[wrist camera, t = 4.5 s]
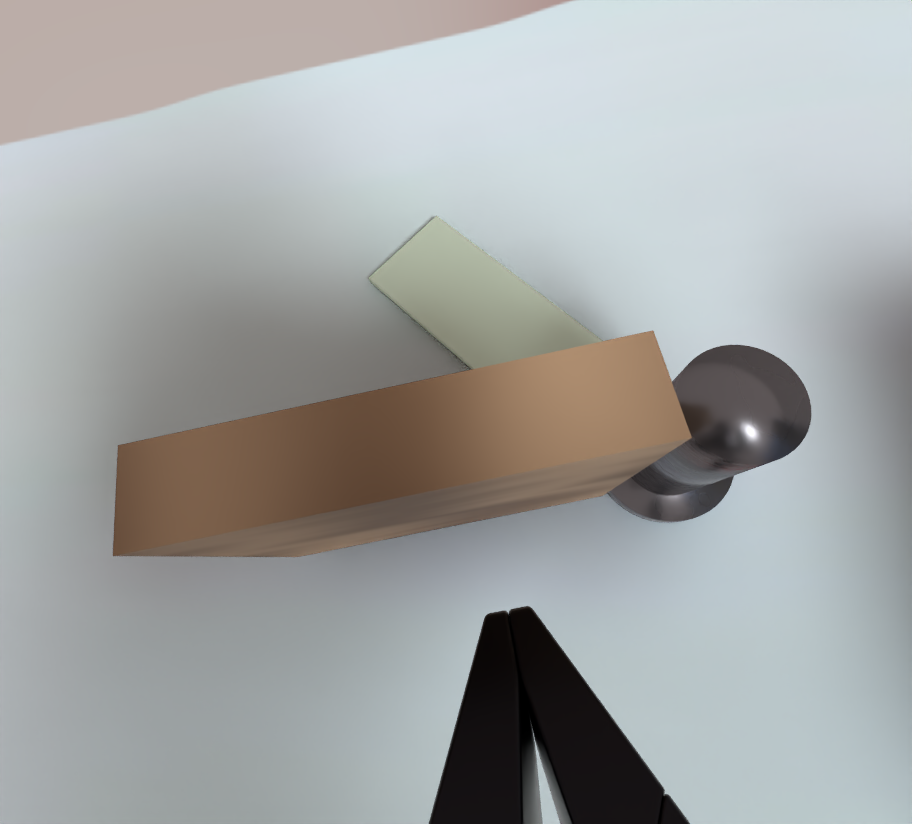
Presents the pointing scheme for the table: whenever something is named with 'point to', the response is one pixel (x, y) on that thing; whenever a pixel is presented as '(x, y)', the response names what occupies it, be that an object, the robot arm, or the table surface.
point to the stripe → (474, 300)
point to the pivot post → (721, 432)
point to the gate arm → (402, 457)
